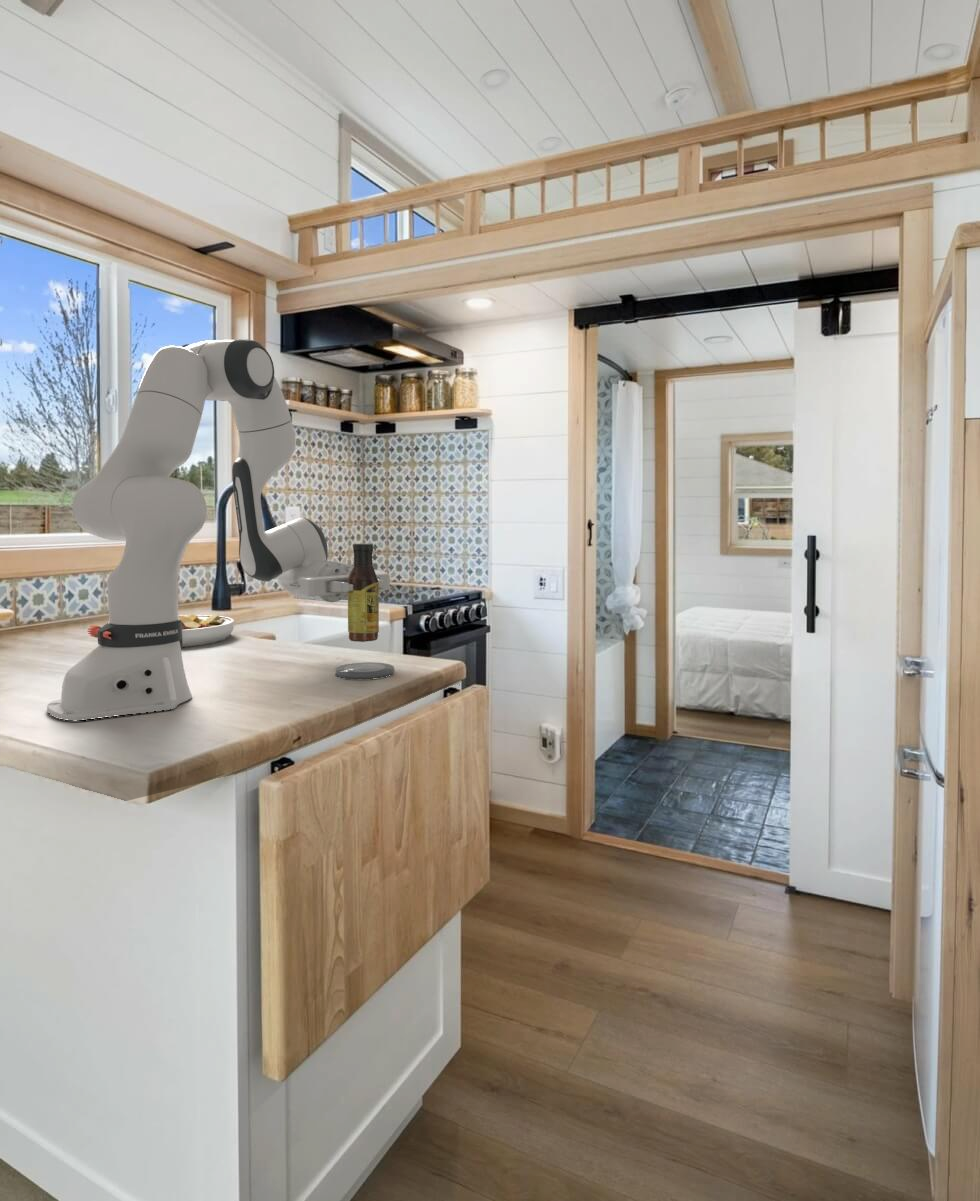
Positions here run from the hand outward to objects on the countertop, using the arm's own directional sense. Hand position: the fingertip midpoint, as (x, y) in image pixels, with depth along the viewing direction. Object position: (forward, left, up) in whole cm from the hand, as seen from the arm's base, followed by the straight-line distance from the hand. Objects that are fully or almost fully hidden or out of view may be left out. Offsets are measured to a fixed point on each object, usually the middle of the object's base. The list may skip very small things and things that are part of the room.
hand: (366, 586), depth 155 cm
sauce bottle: (0, +1, -11) cm, 11 cm away
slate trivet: (0, +1, -18) cm, 18 cm away
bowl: (-12, +70, -19) cm, 73 cm away
